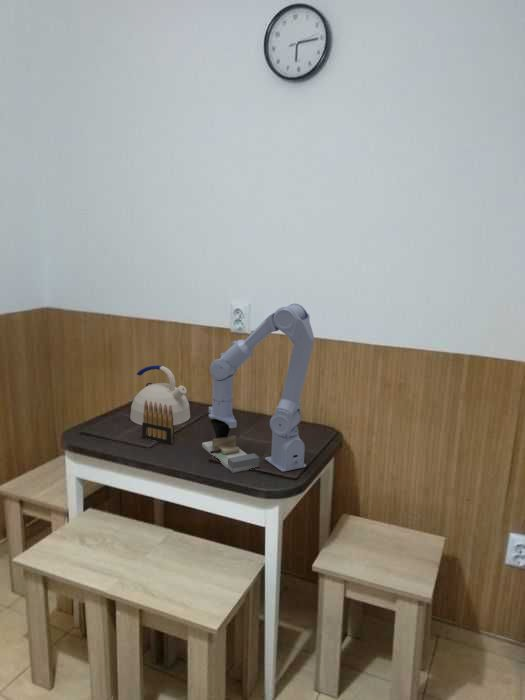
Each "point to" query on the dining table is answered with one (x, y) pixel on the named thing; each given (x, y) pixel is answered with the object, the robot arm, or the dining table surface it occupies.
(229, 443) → the gauge carriage
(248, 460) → the gauge base
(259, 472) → the dining table surface
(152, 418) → the ammunition clip
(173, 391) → the kettle
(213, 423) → the robot arm
